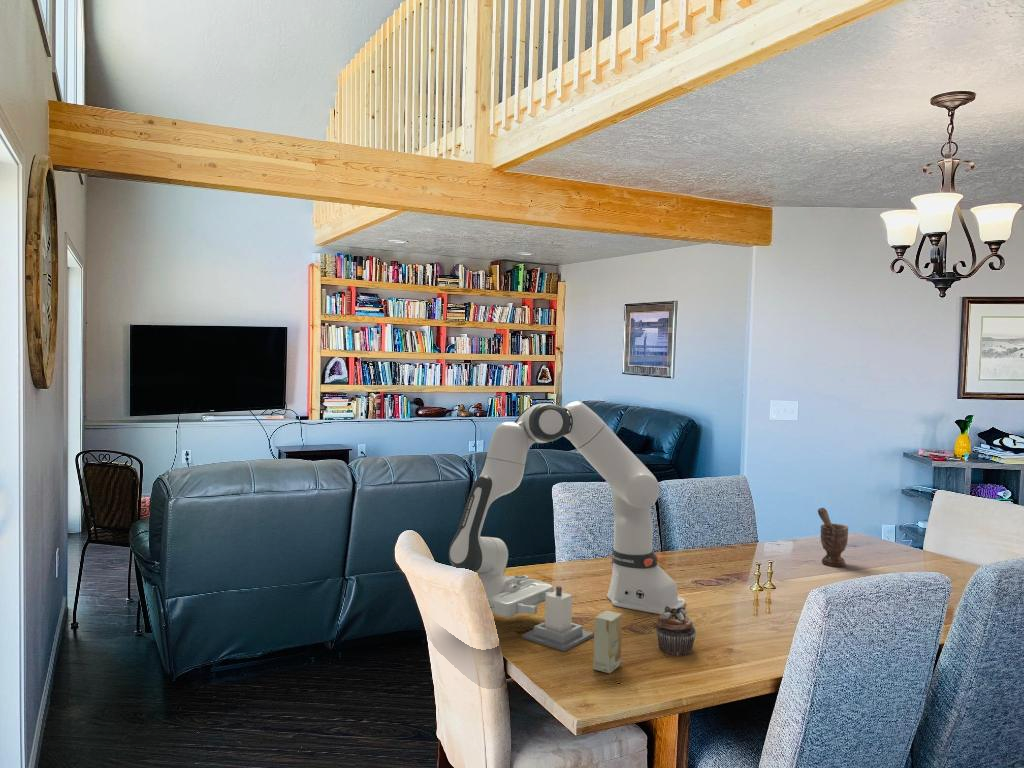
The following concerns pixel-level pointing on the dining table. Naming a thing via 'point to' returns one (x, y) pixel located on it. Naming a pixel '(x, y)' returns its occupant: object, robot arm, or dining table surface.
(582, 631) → the socket plate
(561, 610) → the plug
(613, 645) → the skincare box
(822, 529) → the mortar and pestle
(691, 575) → the dining table surface
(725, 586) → the dining table surface
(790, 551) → the dining table surface
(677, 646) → the cupcake
